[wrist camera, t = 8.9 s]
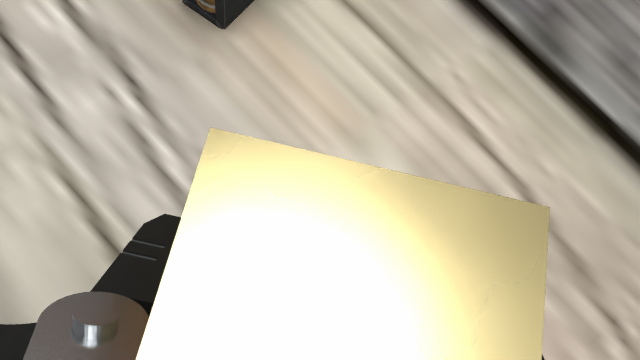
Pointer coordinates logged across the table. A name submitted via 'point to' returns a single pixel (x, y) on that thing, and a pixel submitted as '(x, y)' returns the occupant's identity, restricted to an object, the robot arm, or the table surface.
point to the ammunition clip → (219, 10)
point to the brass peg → (345, 264)
